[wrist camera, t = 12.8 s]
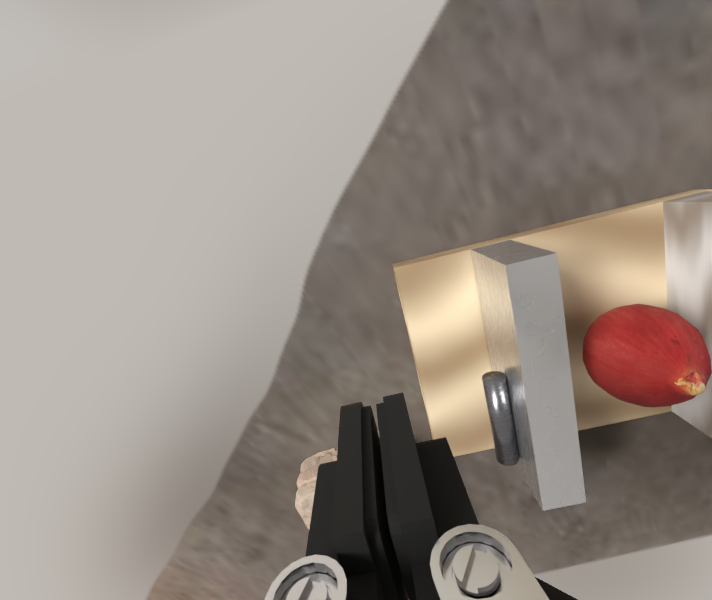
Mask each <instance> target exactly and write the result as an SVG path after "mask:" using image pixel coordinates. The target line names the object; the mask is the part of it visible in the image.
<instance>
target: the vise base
mask: <svg viewBox="0 0 712 600" xmlns="http://www.w3.org/2000/svg"><path fill="white" fill-rule="evenodd" d="M507 240H513V241H516V242H520V243H523V244H527V245H531V246H534V247H538V248H542V249H545V250H549V251H552V252H556V253H557V256H558V265H559V273H560V282H561V290H562V299H563V308H564V316H565V325H566V334H567V342H568V351H569V360H570V368H571V377H572V385H573V394H574V403H575V411H576V420H577V429H578V431H579V430H584V429H589V428H593V427H598V426H603V425H608V424H613V423H618V422H622V421H627V420H632V419H637V418H642V417H646V416H651V415H656V414H661V413H666V412H670V411H672V412H674V413H675V414H676V415H678V416H679V417H681V418H682V419H684V420H685V421H687V422H688V423H690V424H691V425H693V426H694V427H696V428H697V429H698V430H700V431H701V432H703V433H704V434H706V435H707V436H709V437H710V438H712V373H711V376H710V378H709V380H708V382H707V385H706V388H707V389H706V390H705V391H704V392H703V393H701V394H699V395H697V396H696V397H695V398H693V399H691V400H688V401H685V402H683V403H680V404H675V405H672V406H666V407H643V406H639V405H635V404H631V403H628V402H624V401H622V400H619V399H616V398H615V397H613V396H612V395H610V394H608V393H607V392H606V391H604V390H603V389H602V388H601V387H599V386H598V385H597V384H595V383H594V382H593V380H592V379H591V377H590V376H589V374H588V372H587V370H586V367H585V364H584V362H583V340H584V337H585V335H586V333H587V331H588V328H589V326H590V325H591V324H592V323H593V322H594V321H595V320H596V319H597V318H598V317H599V316H600V315H602V314H604V313H606V312H608V311H610V310H612V309H614V308H617V307H620V306H626V305H633V304H645V305H651V306H655V307H660V308H664V309H668V310H670V311H673V312H675V313H677V314H679V315H680V316H681V317H683V318H684V319H685V320H687V321H688V322H689V323H690V324H692V325H693V326H694V327H696V328H697V329H698V330H699V332H700V333H701V335H702V336H703V339H704V341H705V344H706V347H707V349H708V352H709V354H710V359H711V370H712V189H707V190H690V191H686V192H682V193H678V194H674V195H670V196H666V197H662V198H657V199H653V200H649V201H645V202H641V203H637V204H633V205H629V206H625V207H621V208H617V209H613V210H609V211H605V212H601V213H597V214H593V215H589V216H585V217H581V218H577V219H573V220H569V221H565V222H560V223H556V224H552V225H548V226H544V227H540V228H536V229H532V230H528V231H524V232H520V233H516V234H512V235H508V236H504V237H500V238H496V239H492V240H488V241H484V242H480V243H476V244H472V245H468V246H464V247H459V248H455V249H451V250H447V251H443V252H439V253H435V254H431V255H427V256H423V257H419V258H415V259H411V260H407V261H403V262H399V263H395V264H392V265H393V270H394V274H395V278H396V283H397V287H398V291H399V296H400V300H401V304H402V309H403V313H404V317H405V322H406V326H407V330H408V335H409V339H410V343H411V348H412V352H413V356H414V361H415V365H416V369H417V374H418V378H419V382H420V387H421V391H422V395H423V400H424V404H425V408H426V413H427V417H428V421H429V426H430V430H431V434H432V439H433V440H434V439H439V438H443V437H446V439H447V441H448V444H449V446H450V449H451V452H452V454H453V457H454V456H459V455H464V454H468V453H473V452H478V451H483V450H488V449H492V448H495V447H494V441H493V436H492V430H491V425H490V420H489V414H488V409H487V403H486V398H485V392H484V387H483V381H482V376H483V375H484V374H485V373H487V372H491V371H492V368H491V362H490V356H489V350H488V345H487V339H486V333H485V327H484V322H483V316H482V310H481V304H480V299H479V293H478V287H477V282H476V276H475V270H474V264H473V259H472V253H471V249H475V248H479V247H483V246H487V245H491V244H495V243H499V242H503V241H507Z"/></svg>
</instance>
